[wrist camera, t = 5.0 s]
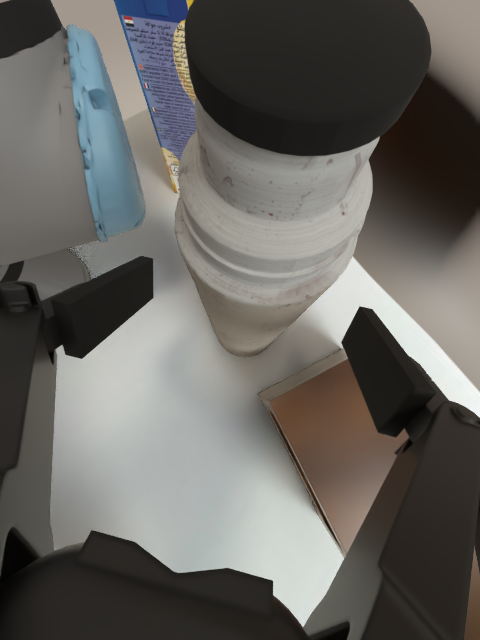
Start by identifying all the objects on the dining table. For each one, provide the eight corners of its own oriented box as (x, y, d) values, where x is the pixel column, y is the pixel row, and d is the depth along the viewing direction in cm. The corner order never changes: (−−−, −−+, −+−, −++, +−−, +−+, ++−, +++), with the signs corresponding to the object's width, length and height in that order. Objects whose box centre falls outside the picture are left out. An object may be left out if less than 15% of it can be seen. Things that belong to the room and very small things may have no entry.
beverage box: (229, 147, 39) (222, -128, 18) (217, 200, 36) (193, -50, 15) (190, 141, 39) (137, -139, 18) (175, 193, 37) (92, -64, 15)
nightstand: (257, 394, 29) (269, 401, 20) (342, 348, 31) (390, 335, 21) (318, 516, 26) (368, 597, 16) (409, 458, 28) (502, 501, 18)
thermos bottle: (205, 318, 32) (26, -41, 4) (253, 290, 33) (343, -129, 6) (235, 368, 30) (240, 279, 3) (285, 336, 31) (617, 64, 4)
